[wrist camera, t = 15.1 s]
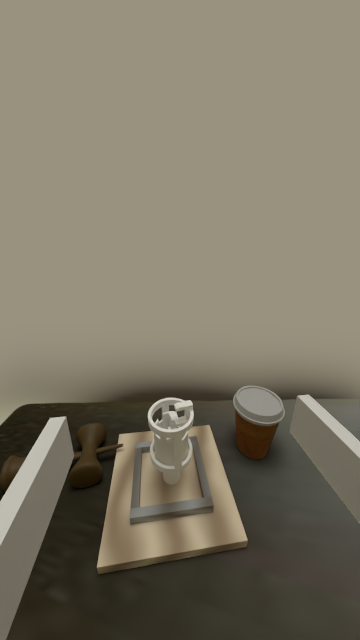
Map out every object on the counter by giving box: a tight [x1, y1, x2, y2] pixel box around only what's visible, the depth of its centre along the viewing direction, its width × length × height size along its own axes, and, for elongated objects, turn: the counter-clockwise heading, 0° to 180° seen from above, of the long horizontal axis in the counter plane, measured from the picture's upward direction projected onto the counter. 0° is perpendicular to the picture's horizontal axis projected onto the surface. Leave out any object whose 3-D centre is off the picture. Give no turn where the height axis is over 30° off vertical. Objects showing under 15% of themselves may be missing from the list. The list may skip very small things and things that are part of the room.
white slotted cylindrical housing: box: [148, 398, 194, 485], centre depth 34 cm, size 7×7×15 cm
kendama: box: [0, 423, 123, 491], centre depth 39 cm, size 6×10×20 cm
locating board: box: [97, 425, 248, 574], centre depth 37 cm, size 20×20×3 cm
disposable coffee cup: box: [233, 386, 285, 459], centre depth 42 cm, size 10×10×12 cm
